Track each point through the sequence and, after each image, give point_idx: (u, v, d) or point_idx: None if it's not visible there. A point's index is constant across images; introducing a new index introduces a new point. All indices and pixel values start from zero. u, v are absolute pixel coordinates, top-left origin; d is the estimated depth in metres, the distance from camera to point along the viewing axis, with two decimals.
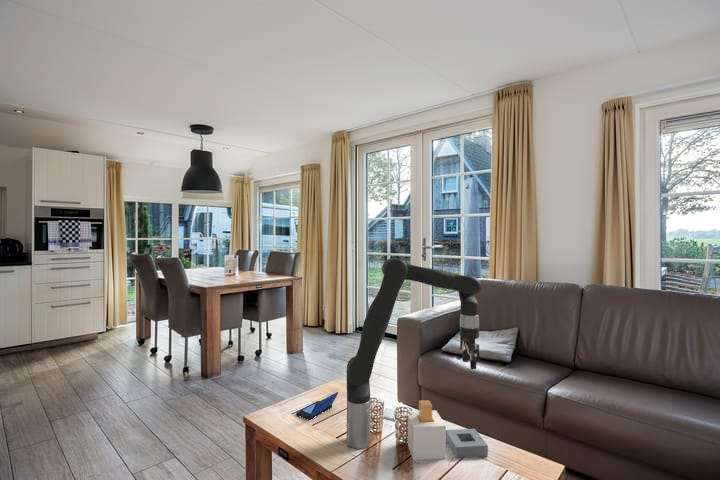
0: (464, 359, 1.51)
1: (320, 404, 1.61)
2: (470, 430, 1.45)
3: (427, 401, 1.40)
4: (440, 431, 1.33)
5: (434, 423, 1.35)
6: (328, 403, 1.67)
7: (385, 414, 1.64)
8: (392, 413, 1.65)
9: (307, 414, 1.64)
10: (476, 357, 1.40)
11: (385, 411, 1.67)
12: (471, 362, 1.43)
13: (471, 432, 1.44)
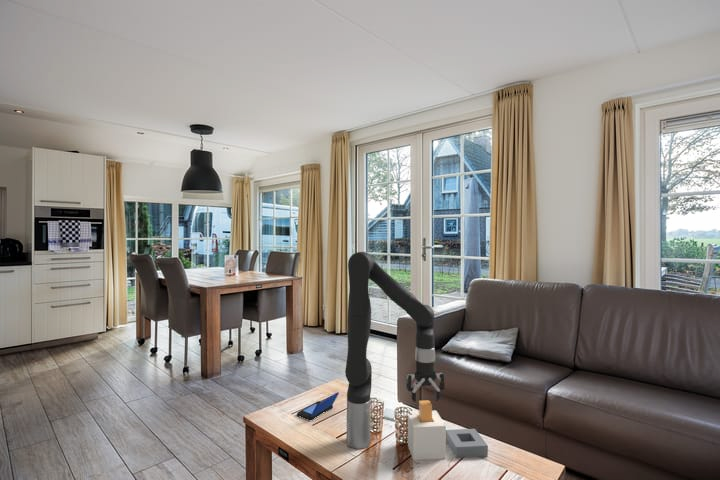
0: None
1: (321, 404, 1.60)
2: (470, 430, 1.45)
3: (427, 401, 1.40)
4: (440, 431, 1.33)
5: (434, 423, 1.35)
6: (328, 403, 1.67)
7: (385, 414, 1.64)
8: (392, 413, 1.66)
9: (308, 414, 1.63)
10: None
11: (384, 411, 1.67)
12: (437, 394, 1.38)
13: (471, 432, 1.44)
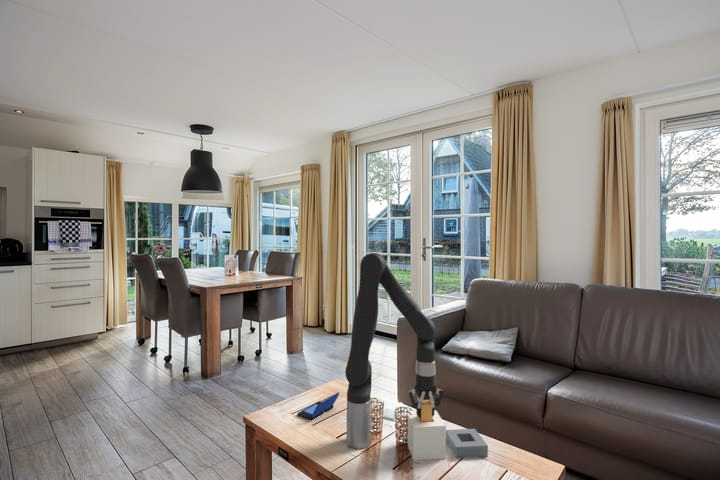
0: None
1: (322, 404, 1.60)
2: (470, 430, 1.45)
3: (427, 401, 1.40)
4: (440, 431, 1.33)
5: (434, 423, 1.35)
6: (329, 403, 1.67)
7: (385, 414, 1.64)
8: (391, 413, 1.66)
9: (308, 415, 1.63)
10: None
11: (384, 411, 1.67)
12: (432, 410, 1.38)
13: (471, 432, 1.44)
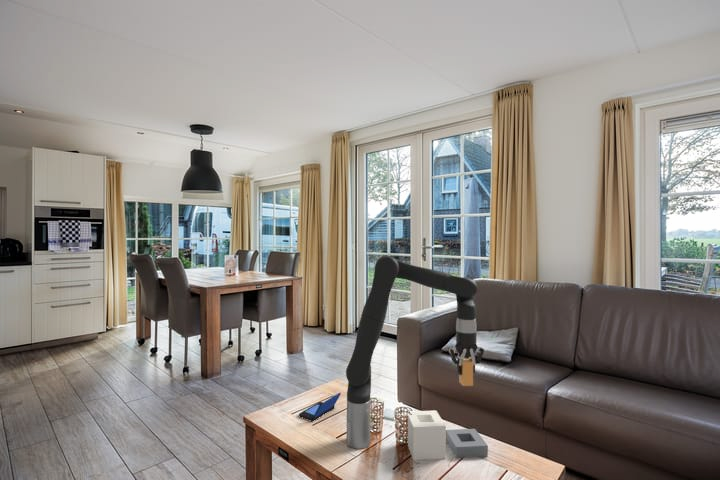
0: None
1: (323, 405, 1.60)
2: (470, 430, 1.45)
3: (467, 359, 1.41)
4: (440, 431, 1.33)
5: (434, 423, 1.35)
6: (331, 404, 1.66)
7: (384, 414, 1.64)
8: (391, 412, 1.66)
9: (310, 415, 1.63)
10: None
11: (384, 411, 1.67)
12: (473, 367, 1.39)
13: (471, 432, 1.44)
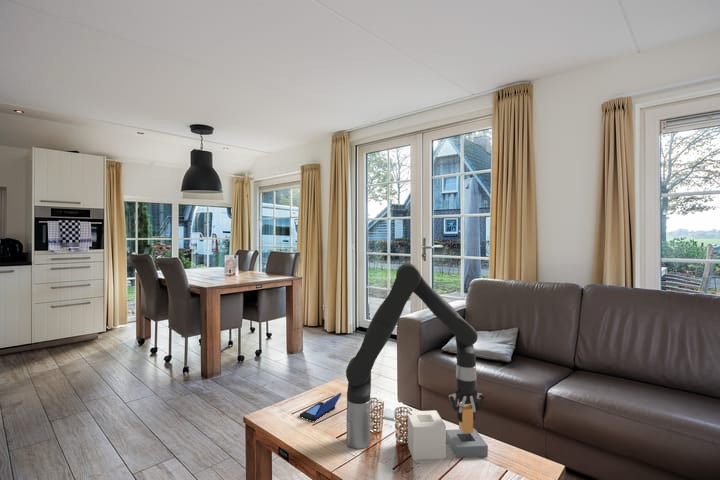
0: None
1: (324, 405, 1.59)
2: None
3: (467, 405, 1.41)
4: (440, 431, 1.33)
5: (434, 423, 1.35)
6: (331, 404, 1.66)
7: (384, 414, 1.64)
8: (391, 412, 1.66)
9: (311, 416, 1.62)
10: None
11: None
12: (473, 414, 1.39)
13: None
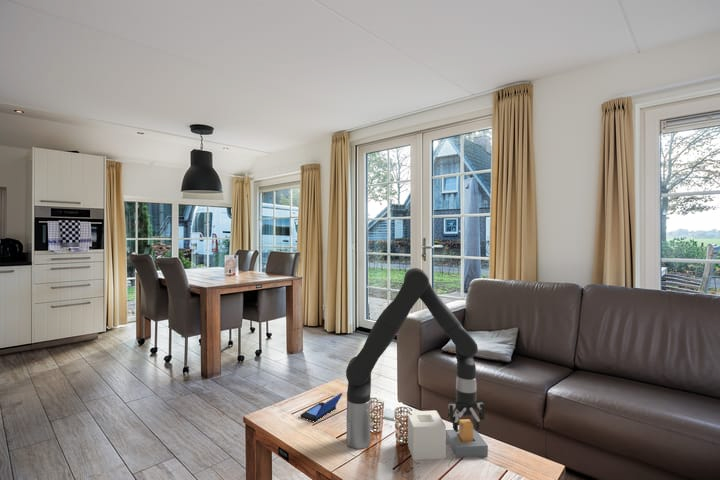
0: None
1: (325, 405, 1.59)
2: None
3: (467, 420, 1.41)
4: (440, 431, 1.33)
5: (434, 423, 1.35)
6: (332, 404, 1.66)
7: (384, 414, 1.64)
8: (391, 412, 1.66)
9: (312, 416, 1.62)
10: None
11: None
12: (477, 424, 1.39)
13: None
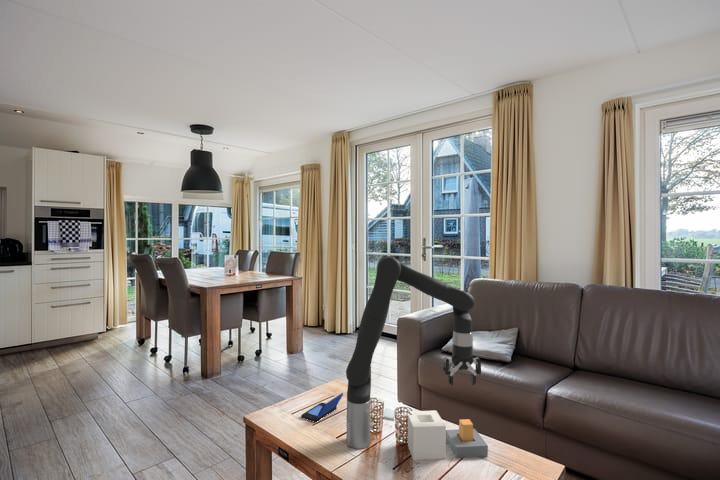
0: None
1: (326, 406, 1.59)
2: None
3: (467, 420, 1.41)
4: (440, 431, 1.33)
5: (434, 423, 1.35)
6: (333, 404, 1.66)
7: (384, 414, 1.64)
8: (390, 412, 1.66)
9: (313, 416, 1.62)
10: None
11: None
12: (474, 378, 1.40)
13: None
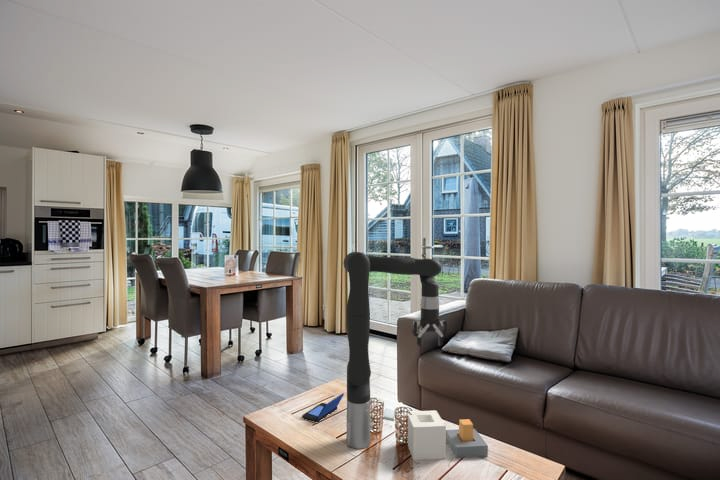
0: None
1: (327, 406, 1.59)
2: None
3: (467, 420, 1.41)
4: (440, 431, 1.33)
5: (434, 423, 1.35)
6: (334, 404, 1.65)
7: (384, 414, 1.64)
8: (390, 412, 1.66)
9: (314, 417, 1.61)
10: None
11: None
12: (441, 339, 1.50)
13: None
